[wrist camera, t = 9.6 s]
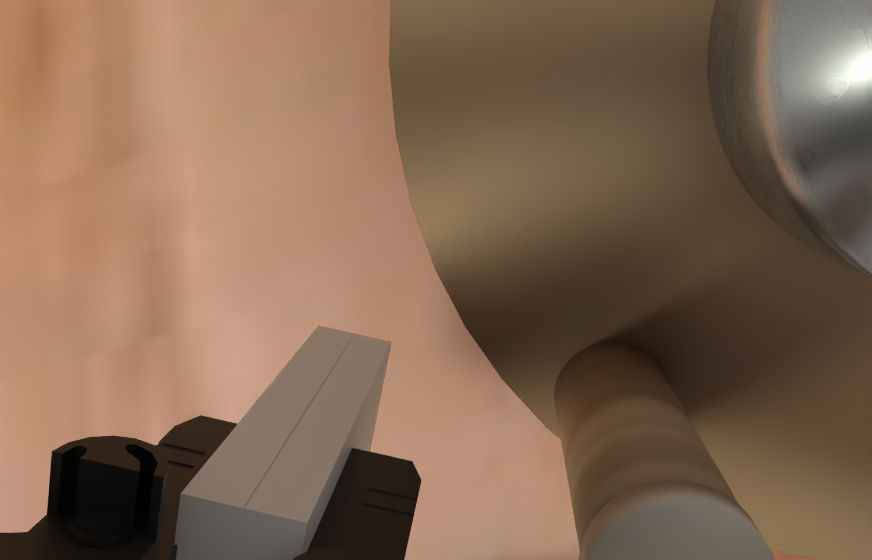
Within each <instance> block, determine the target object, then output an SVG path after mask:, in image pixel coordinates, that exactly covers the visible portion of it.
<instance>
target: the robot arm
mask: <svg viewBox="0 0 872 560" xmlns="http://www.w3.org/2000/svg"><path fill="white" fill-rule="evenodd" d="M390 347H391V342H389V341H385V340H380V339H376V338H371V337H367V336H362V335H358V334H353V333H349V332H345V331H340V330H336V329H331V328H327V327H322V326H318V327H317V328H316V329H315V331H314V332H313V333H312V334H311V336H310V337H309V338H308V339H307V340H306V342H305V343H304V344H303V345H302V346H301V348H300V349H299V350H298V351H297V353H296V354H295V355H294V356H293V357H292V359H291V360H290V361H289V362H288V364H287V365H286V366H285V367H284V368H283V370H282V371H281V372H280V373H279V374H278V376H277V377H276V378H275V379H274V381H273V382H272V383H271V384H270V385H269V387H268V388H267V389H266V390H265V391H264V393H263V394H262V395H261V396H260V398H259V399H258V400H257V401H256V402H255V404H254V405H253V406H252V407H251V409H250V410H249V411H248V412H247V413H246V415H245V416H244V417H243V418H242V419H241V421H240V422H239V423H238V424H236V423H232V422H227V421H223V420H219V419H214V418H210V417H205V416H198V417H196V418H193V419H191V420H188V421H186V422H184V423H181V424H179V425H176V426H174V427H173V428H172V429H171V430H170V431H169V432H168V433H167V434H166V435H165V436H164V437H163V438H162V439H161V440H160V441H159V444H158V445H155V446H154V445H152V444H149V443H147V442H144V441H141V440H138V439H135V438H127V437H119V436H100V437H88V438H84V439H80V440H76V441H72V442H69V443H67V444H65V445H63V446H61V447H59V448H57V449H55V450H54V451H52V458H51V471H50V483H49V496H48V508H47V515H46V516H45V517H44V518H43V519H41V520H40V521H39V522H38V523H37V524H36V525H35V526H34V527H33V528H32V529H30V530H29V531H28V532H20V533H0V560H404V558H405V553H406V549H407V544H408V539H409V535H410V530H411V526H412V521H413V516H414V512H415V507H416V503H417V498H418V493H419V489H420V484H421V478H420V476H419V474H418V472H417V470H416V468H415V466H414V464H413V462H412V461H408V460H404V459H399V458H395V457H391V456H386V455H382V454H378V453H373V452H370V448H371V443H372V438H373V433H374V428H375V423H376V418H377V413H378V407H379V402H380V397H381V392H382V387H383V382H384V377H385V372H386V367H387V362H388V357H389V352H390Z"/></svg>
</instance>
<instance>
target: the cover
mask: <svg viewBox="0 0 872 560" xmlns="http://www.w3.org/2000/svg"><path fill="white" fill-rule="evenodd" d="M707 64H708V88H709V95H710V103H711V110H712V114H713V118H714V122H715V125H716V129H717V132H718V136H719V139H720V142H721V144H722V147H723V149H724V151H725V154H726V156H727V158H728V160H729V163H730V165H731V167H732V169H733V171H734V172H735V174H736V175H737V177H738V179H739V180H740V182H741V183H742V185H743V187H744V188H745V190H746V191H747V193H748V194H749V195H750V196H751V198H752V199H753V200H754V201H755V202H756V203H757V205H758V206H759V207H760V208H761V209H762V211H763V212H764V213H765V214H766V215H767V216H768V217H769V218H770V219H772V220H773V221H774V222H775V223H776V224H777V225H778V226H779V227H781V228H782V229H783V230H784V231H785V232H786V233H788V234H789V235H791V236H792V237H794V238H795V239H797V240H798V241H800V242H801V243H803V244H804V245H806V246H807V247H809V248H810V249H812V250H814V251H816V252H818V253H820V254H822V255H824V256H826V257H828V258H830V259H832V260H835V261H837V262H839V263H841V264H843V265H845V266H847V267H849V268H851V269H853V270H855V271H857V272H859V273H861V274H863V275H865V276H867V277H869V278H871V279H872V0H716V2H715V6H714V9H713V13H712V17H711V25H710V33H709V41H708V49H707Z"/></svg>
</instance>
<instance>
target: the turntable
mask: <svg viewBox="0 0 872 560" xmlns="http://www.w3.org/2000/svg"><path fill="white" fill-rule="evenodd" d="M715 2H716V0H391V21H390V56H389V66H390V76H391V87H392V97H393V108H394V118H395V128H396V138H397V142H398V146H399V151H400V155H401V160H402V164H403V168H404V173H405V177H406V182H407V186H408V191H409V195H410V199H411V204H412V207H413V210H414V213H415V215H416V218H417V221H418V223H419V226H420V229H421V232H422V234H423V237H424V240H425V243H426V245H427V248H428V251H429V253H430V256H431V259H432V262H433V264H434V267H435V270H436V271H437V273H438V275H439V277H440V279H441V281H442V283H443V285H444V287H445V289H446V291H447V292H448V294H449V296H450V298H451V300H452V302H453V304H454V306H455V308H456V310H457V312H458V313H459V315H460V317H461V319H462V321H463V323H464V325H465V327H466V328H467V330H468V331H469V333H470V334H471V336H472V337H473V338H474V340H475V341H476V343H477V344H478V345H479V347H480V348H481V350H482V351H483V353H484V354H485V355H486V357H487V358H488V360H489V361H490V362H491V364H492V365H493V367H494V368H495V370H496V371H497V372H498V374H499V375H500V377H501V378H502V379H503V381H504V382H505V383H506V384H507V385H508V386H509V387H510V388H511V389H512V391H513V392H514V393H515V394H516V395H517V396H518V397H519V398H520V399H521V400H522V401H523V402H524V403H525V405H526V406H527V407H528V408H529V409H530V410H531V411H532V412H533V413H534V414H535V415H536V416H537V418H538V419H539V420H540V421H541V422H542V423H543V424H544V425H545V426H546V427H547V428H548V429H549V430H550V431H552V432H553V433H554V434H555V435H556V436H558V437H559V438H560V439H561V442H562V448H563V454H564V460H565V466H566V471H567V477H568V483H569V489H570V495H571V501H572V507H573V513H574V519H575V524H576V530H577V536H578V542H579V548H580V555H579V560H775V559H774V556H773V554H772V552H771V550H773V551H778V552H783V553H787V554H792V555H797V556H802V557H807V558H812V559H817V560H872V279H871V278H869V277H867V276H865V275H863V274H861V273H859V272H857V271H855V270H853V269H851V268H849V267H847V266H845V265H843V264H841V263H839V262H837V261H835V260H832V259H830V258H828V257H826V256H824V255H822V254H820V253H818V252H816V251H814V250H812V249H810V248H809V247H807V246H806V245H804V244H803V243H801V242H800V241H798V240H797V239H795V238H794V237H792V236H791V235H789V234H788V233H786V232H785V231H784V230H783V229H782V228H781V227H779V226H778V225H777V224H776V223H775V222H774V221H773V220H772V219H770V218H769V217H768V216H767V215H766V214H765V213H764V212H763V211H762V209H761V208H760V207H759V206H758V205H757V203H756V202H755V201H754V200H753V199H752V198H751V196H750V195H749V194H748V193H747V191H746V190H745V188H744V187H743V185H742V183H741V182H740V180H739V179H738V177H737V175H736V174H735V172H734V171H733V169H732V167H731V165H730V163H729V160H728V158H727V156H726V154H725V151H724V149H723V147H722V144H721V142H720V139H719V136H718V132H717V129H716V125H715V122H714V118H713V114H712V110H711V103H710V95H709V88H708V64H707V49H708V41H709V33H710V25H711V17H712V13H713V9H714V6H715Z"/></svg>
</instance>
